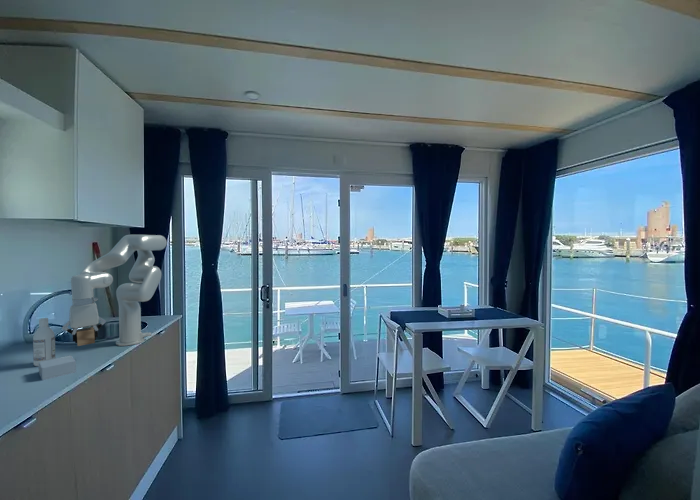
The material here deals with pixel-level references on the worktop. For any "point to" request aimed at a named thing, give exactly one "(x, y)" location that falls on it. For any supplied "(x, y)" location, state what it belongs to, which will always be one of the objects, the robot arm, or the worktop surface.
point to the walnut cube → (85, 336)
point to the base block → (57, 367)
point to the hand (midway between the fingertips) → (85, 340)
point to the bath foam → (43, 343)
